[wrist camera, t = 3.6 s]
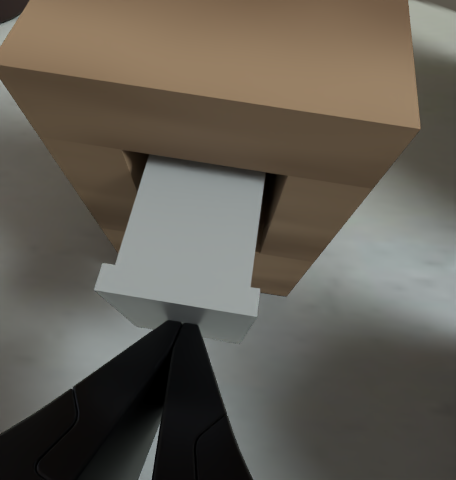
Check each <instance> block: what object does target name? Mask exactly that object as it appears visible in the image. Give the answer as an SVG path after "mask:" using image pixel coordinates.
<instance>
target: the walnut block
mask: <svg viewBox="0 0 456 480" xmlns="http://www.w3.org/2000/svg"><path fill="white" fill-rule="evenodd" d="M0 79H1V81H2V82H3V84H4V85H5V87H6V88H7V90H8V91H9V93H10V94H11V96H12V97H13V99H14V100H15V102H16V103H17V105H18V106H19V108H20V109H21V111H22V112H23V113H24V115H25V116H26V118H27V119H28V121H29V122H30V124H31V125H32V127H33V128H34V130H35V131H36V133H37V134H38V136H39V137H40V139H41V140H42V142H43V143H44V145H45V146H46V147H47V149H48V150H49V152H50V153H51V155H52V156H53V158H54V159H55V161H56V162H57V164H58V165H59V167H60V168H61V170H62V171H63V173H64V174H65V176H66V177H67V179H68V180H69V182H70V183H71V184H72V186H73V187H74V189H75V190H76V192H77V193H78V195H79V196H80V198H81V199H82V201H83V202H84V204H85V205H86V207H87V208H88V210H89V211H90V213H91V214H92V216H93V217H94V219H95V220H96V221H97V223H98V224H99V226H100V227H101V229H102V230H103V232H104V233H105V235H106V236H107V238H108V239H109V241H110V242H111V244H112V245H113V247H114V248H115V250H116V251H117V253H118V254H119V250H120V247H121V244H122V241H123V238H124V234H125V231H126V228H127V225H128V221H129V218H130V215H131V212H132V208H133V205H134V202H135V199H136V195H137V192H138V189H139V186H140V183H141V179H142V176H143V173H144V170H145V166H146V163H147V160H148V157H149V154H152V155H158V156H165V157H171V158H178V159H184V160H190V161H197V162H203V163H210V164H216V165H223V166H229V167H235V168H242V169H248V170H255V171H261V172H266V173H265V181H264V188H263V196H262V203H261V211H260V218H259V226H258V234H257V241H256V249H255V256H254V264H253V271H252V279H251V286H250V287H253V288H259V289H260V292H261V293H267V294H273V295H279V296H287V295H288V294H289V293H290V292H291V290H292V289H293V288H294V287H295V285H296V284H297V283H298V282H299V280H300V279H301V278H302V277H303V275H304V274H305V273H306V272H307V270H308V269H309V268H310V267H311V265H312V264H313V263H314V262H315V260H316V259H317V258H318V257H319V255H320V254H321V253H322V252H323V250H324V249H325V248H326V247H327V245H328V244H329V243H330V242H331V240H332V239H333V238H334V237H335V235H336V234H337V233H338V232H339V230H340V229H341V228H342V227H343V225H344V224H345V223H346V222H347V220H348V219H349V218H350V217H351V215H352V214H353V213H354V212H355V210H356V209H357V208H358V207H359V205H360V204H361V203H362V202H363V200H364V199H365V198H366V197H367V195H368V194H369V193H370V192H371V190H372V189H373V188H374V187H375V185H376V184H377V183H378V182H379V180H380V179H381V178H382V177H383V175H384V174H385V173H386V172H387V171H388V169H389V168H390V167H391V166H392V164H393V163H394V162H395V161H396V159H397V158H398V157H399V156H400V154H401V153H402V152H403V151H404V149H405V148H406V147H407V146H408V144H409V143H410V142H411V141H412V139H413V138H414V137H415V136H416V134H417V133H418V132H419V131H420V129H421V127H420V117H419V107H418V97H417V87H416V76H415V66H414V56H413V46H412V36H411V26H410V16H409V5H408V0H30V1H29V2H28V4H27V5H26V7H25V9H24V10H23V12H22V13H21V15H20V17H19V18H18V20H17V21H16V23H15V24H14V26H13V28H12V29H11V31H10V32H9V34H8V35H7V37H6V39H5V40H4V42H3V43H2V45H1V47H0Z"/></svg>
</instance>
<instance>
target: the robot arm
mask: <svg viewBox="0 0 456 480" xmlns="http://www.w3.org/2000/svg"><path fill="white" fill-rule="evenodd" d="M160 421H161V423H160ZM159 424H160V429H159V436H158V442H157V449H156V455H155V462H154V468H153V475H152V480H253V478H252V476H251V474H250V472H249V470H248V468H247V465H246V463H245V461H244V459H243V456H242V454H241V452H240V449H239V447H238V444H237V441H236V439H235V436H234V433H233V430H232V427H231V424H230V421H229V418H228V416H227V412H226V409H225V406H224V403H223V400H222V397H221V394H220V391H219V387H218V384H217V381H216V378H215V375H214V372H213V369H212V366H211V363H210V359H209V356H208V353H207V350H206V347H205V344H204V341H203V338H202V335H201V331H200V328H199V326H198V325H197V324H191V323H183V324H182V322H179V321H173V320H167V321H165V322H164V323H162V324H161V325H160V326H158V327H157V328H155V329H154V330H153V331H151V332H150V333H148V334H147V335H145V336H144V337H143V338H141V339H140V340H138V341H137V342H136V343H134V344H133V345H131V346H130V347H129V348H127V349H126V350H124V351H123V352H122V353H120V354H119V355H117V356H116V357H114V358H113V359H112V360H110V361H109V362H107V363H106V364H105V365H103V366H102V367H100V368H99V369H98V370H96V371H95V372H93V373H92V374H91V375H89V376H88V377H86V378H85V379H83V380H82V381H81V382H79V383H78V384H76V385H75V386H74V387H73V389H69V390H68V391H66V392H65V393H64V394H62V395H61V396H59V397H58V398H56V399H55V400H53V401H52V402H51V403H49V404H48V405H46V406H45V407H43V408H42V409H40V410H39V411H37V412H36V413H34V414H32V415H31V416H29V417H28V418H26V419H24V420H23V421H21V422H19V423H18V424H16V425H15V426H13V427H11V428H10V429H8V430H6V431H5V432H3V433H1V434H0V480H138V478H139V476H140V473H141V471H142V468H143V465H144V463H145V460H146V458H147V455H148V452H149V450H150V447H151V445H152V442H153V439H154V437H155V434H156V432H157V429H158V427H159Z"/></svg>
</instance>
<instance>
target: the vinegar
mask: <svg viewBox="0 0 456 480" xmlns="http://www.w3.org/2000/svg"><path fill="white" fill-rule="evenodd" d="M29 1H30V0H0V23H2V22H5V21H7V20H10V19H13V18H14V17H16V16H18V15H19V14H21V13H22V12H23V10H24V9H25V7H26V5H27V4H28V2H29Z"/></svg>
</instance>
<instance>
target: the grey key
mask: <svg viewBox="0 0 456 480" xmlns="http://www.w3.org/2000/svg"><path fill="white" fill-rule="evenodd" d="M265 173H266V172H261V171H255V170H248V169H242V168H235V167H229V166H223V165H216V164H210V163H203V162H197V161H190V160H184V159H178V158H171V157H165V156H158V155H152V154H149V157H148V160H147V163H146V166H145V170H144V173H143V176H142V179H141V183H140V186H139V189H138V192H137V195H136V199H135V202H134V205H133V208H132V212H131V215H130V218H129V221H128V225H127V228H126V231H125V234H124V238H123V241H122V244H121V247H120V250H119V254H118V257H117V260H116V263H115V265H112V264H106V263H102V266H101V269H100V272H99V275H98V279H97V282H96V285H95V288H94V291H96V292H97V293H98V294H99V295H100V296H101V297H103V298H104V299H105V300H106V301H107V302H108V303H110V304H111V305H112V306H113V307H114V308H115V309H116V310H118V311H119V312H120V313H121V314H122V315H123V316H125V317H126V318H127V319H128V320H129V321H130V322H132V323H133V324H134V325H135V326H136V327H141V328H147V329H153V330H154V329H155V328H157V327H158V326H160V325H161V324H162V323H164V322H165V321H167V320H173V321H179V322H182V324H183V323H191V324H197V325H198V326H199V328H200V331H201V335H202V338H207V339H213V340H219V341H225V342H231V343H237V344H240V343H241V342H242V340H243V339H244V337H245V335H246V334H247V332H248V331H249V329H250V327H251V326H252V324H253V323H254V321H255V319H256V318H257V313H258V305H259V296H260V289H259V288H253V287H250V286H251V279H252V271H253V264H254V256H255V249H256V241H257V234H258V226H259V218H260V211H261V203H262V196H263V188H264V181H265Z"/></svg>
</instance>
